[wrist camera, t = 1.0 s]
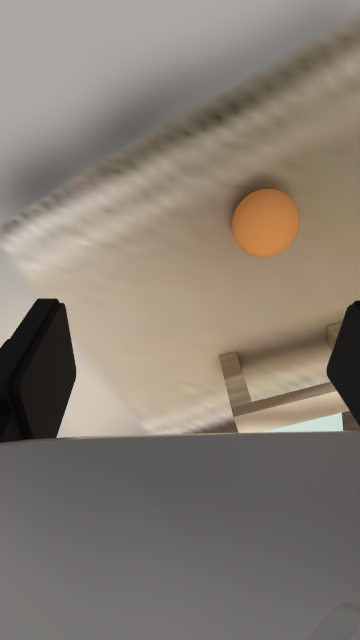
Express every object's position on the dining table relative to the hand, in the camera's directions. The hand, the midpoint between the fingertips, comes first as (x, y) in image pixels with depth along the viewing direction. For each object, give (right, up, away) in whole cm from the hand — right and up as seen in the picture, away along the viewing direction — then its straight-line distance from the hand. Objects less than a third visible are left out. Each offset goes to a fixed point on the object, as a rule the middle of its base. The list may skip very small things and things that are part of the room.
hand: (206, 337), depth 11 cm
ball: (+6, +9, +16) cm, 20 cm away
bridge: (+11, -3, +27) cm, 29 cm away
